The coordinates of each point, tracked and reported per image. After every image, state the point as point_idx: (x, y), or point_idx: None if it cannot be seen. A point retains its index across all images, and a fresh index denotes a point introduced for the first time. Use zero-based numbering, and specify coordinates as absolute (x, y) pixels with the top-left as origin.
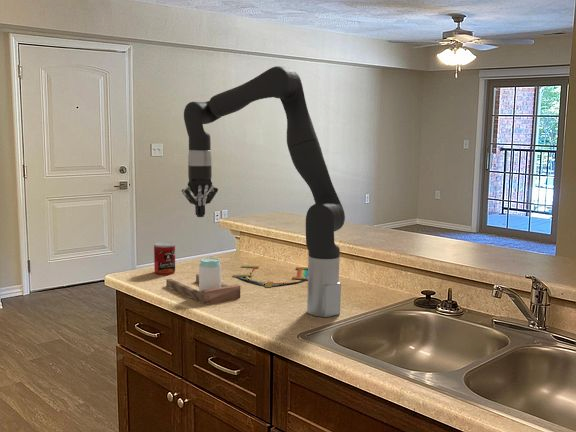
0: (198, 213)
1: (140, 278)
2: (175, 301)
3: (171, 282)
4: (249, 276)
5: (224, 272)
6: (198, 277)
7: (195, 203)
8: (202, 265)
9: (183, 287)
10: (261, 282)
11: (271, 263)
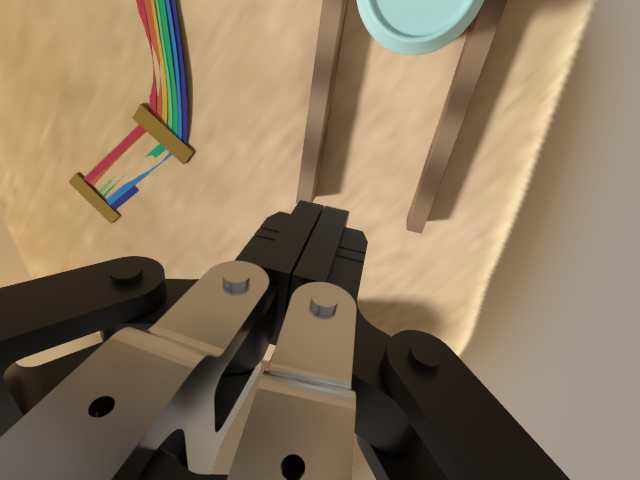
0: (355, 242)
1: (405, 328)
2: (570, 38)
3: (433, 198)
4: (147, 109)
5: (186, 211)
6: (314, 188)
7: (413, 341)
8: None
9: (468, 105)
10: (148, 10)
11: (21, 184)
